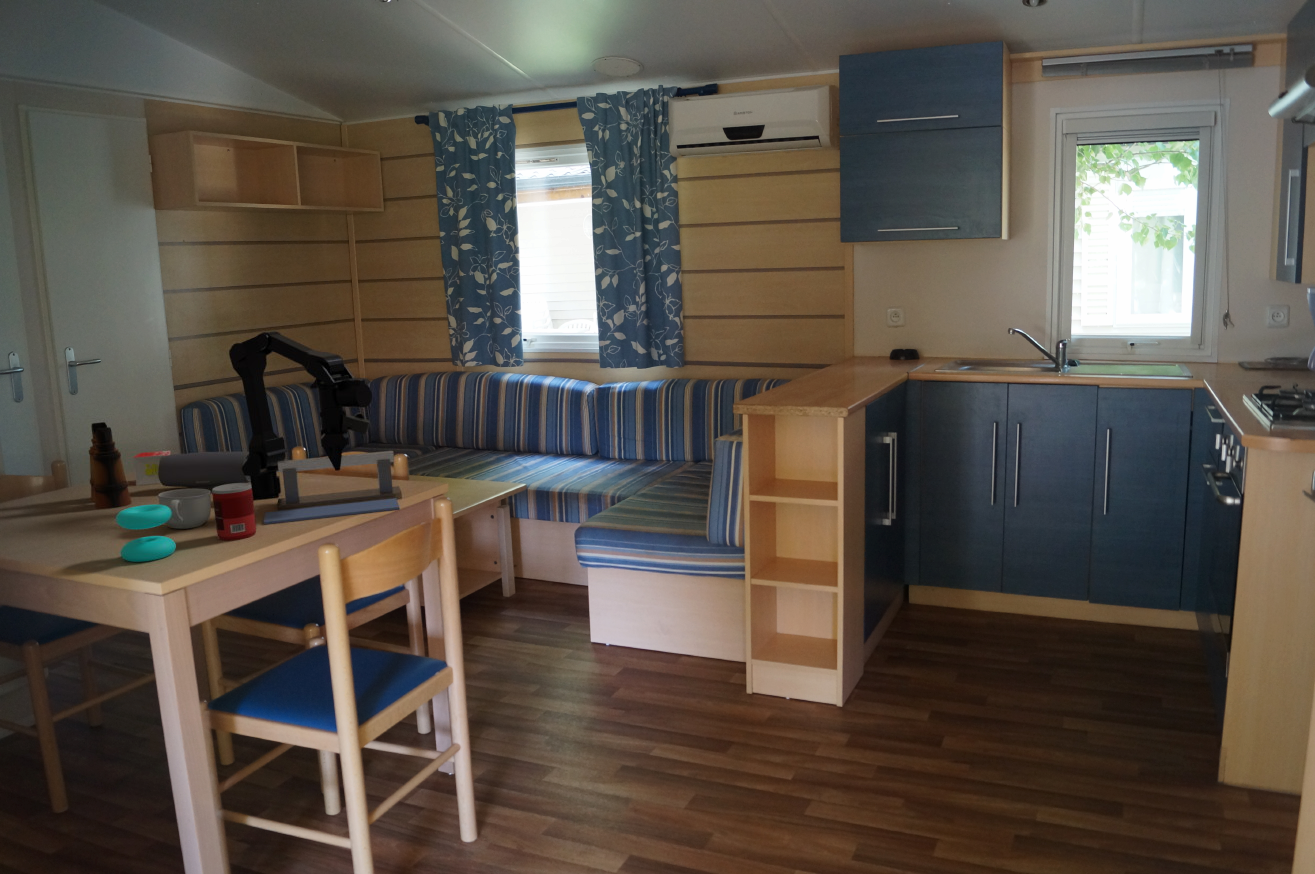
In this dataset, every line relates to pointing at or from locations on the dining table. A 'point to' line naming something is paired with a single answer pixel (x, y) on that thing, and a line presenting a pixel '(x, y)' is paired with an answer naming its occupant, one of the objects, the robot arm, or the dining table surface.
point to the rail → (326, 463)
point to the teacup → (187, 507)
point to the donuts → (149, 545)
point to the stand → (338, 498)
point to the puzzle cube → (148, 467)
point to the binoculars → (106, 470)
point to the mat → (330, 511)
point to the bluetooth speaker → (203, 469)
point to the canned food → (234, 511)
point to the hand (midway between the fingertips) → (337, 469)
